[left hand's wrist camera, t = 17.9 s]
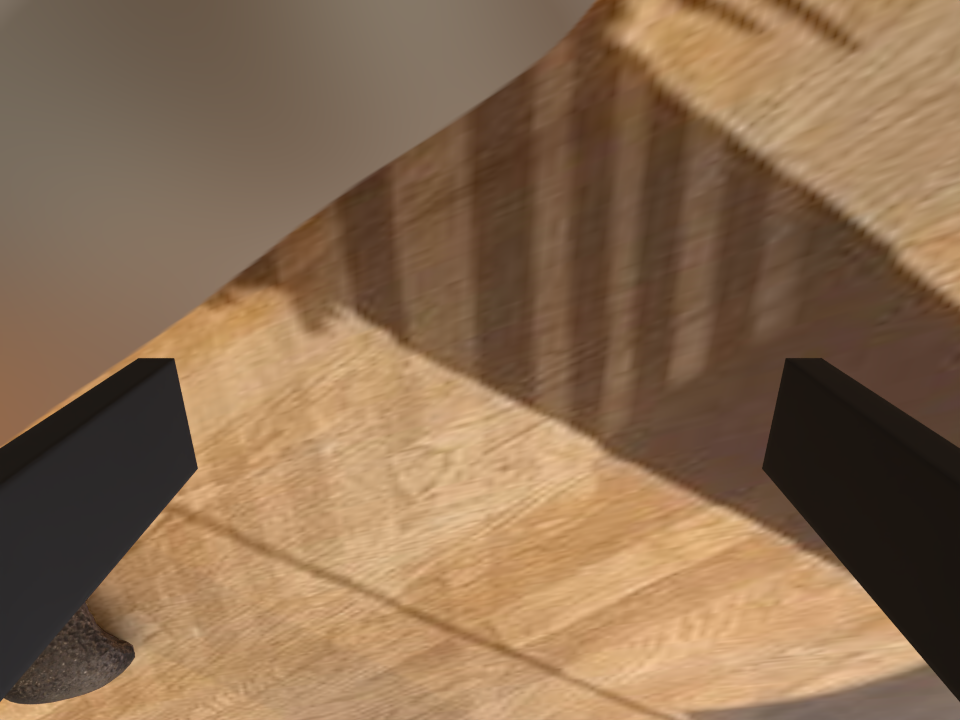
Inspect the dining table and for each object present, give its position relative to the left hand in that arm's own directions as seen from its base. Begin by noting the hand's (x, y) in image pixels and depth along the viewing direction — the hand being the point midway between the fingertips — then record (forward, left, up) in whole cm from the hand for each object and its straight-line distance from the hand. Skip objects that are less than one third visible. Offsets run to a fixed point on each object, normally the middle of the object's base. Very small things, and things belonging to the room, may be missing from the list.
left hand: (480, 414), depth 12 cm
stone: (+49, +13, -28) cm, 58 cm away
